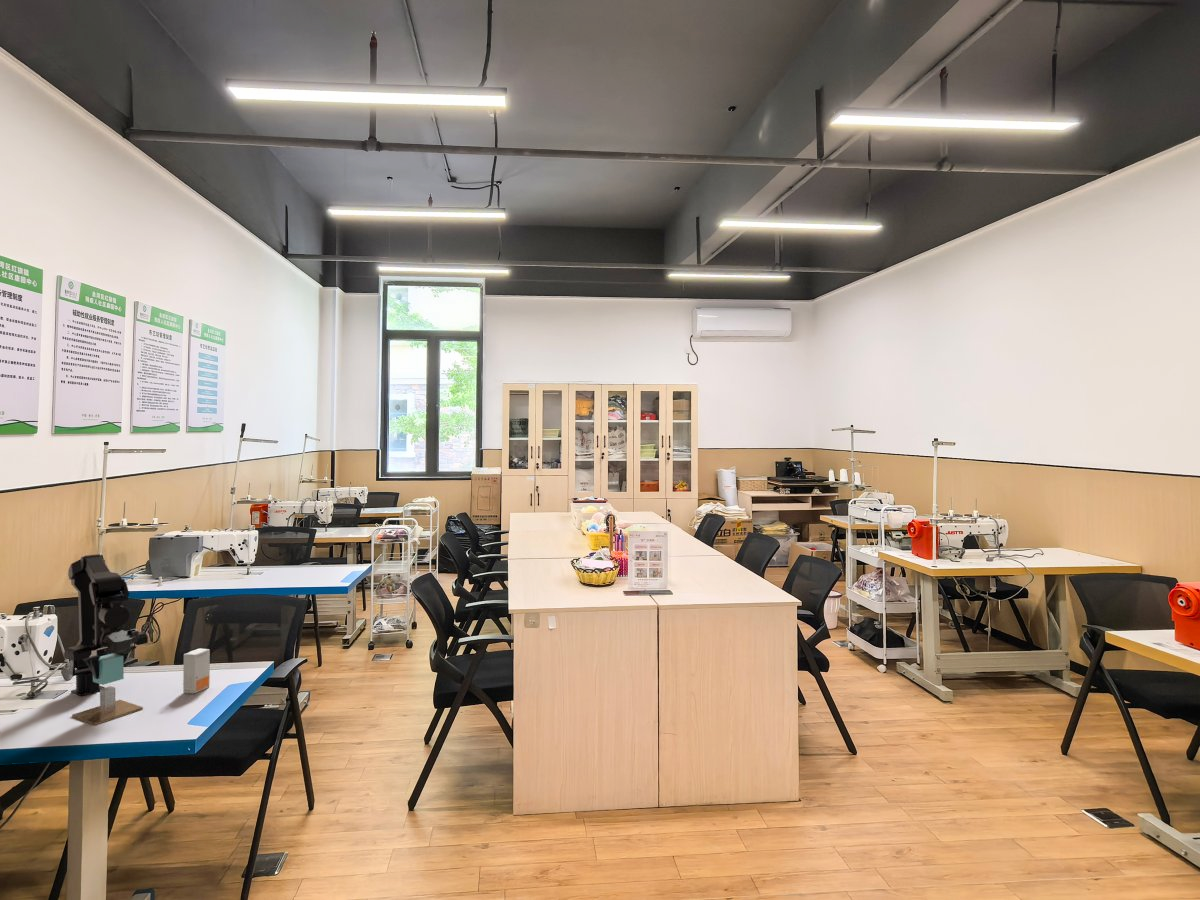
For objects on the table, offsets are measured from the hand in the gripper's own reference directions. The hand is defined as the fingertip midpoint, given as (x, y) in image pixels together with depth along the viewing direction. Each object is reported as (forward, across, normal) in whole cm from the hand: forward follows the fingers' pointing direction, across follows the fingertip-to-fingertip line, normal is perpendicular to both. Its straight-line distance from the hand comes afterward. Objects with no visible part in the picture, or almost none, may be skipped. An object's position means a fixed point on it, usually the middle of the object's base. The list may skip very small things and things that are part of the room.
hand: (108, 675), depth 184 cm
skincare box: (+11, +22, -5) cm, 25 cm away
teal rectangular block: (+1, 0, 0) cm, 1 cm away
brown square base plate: (+11, 0, 0) cm, 11 cm away
